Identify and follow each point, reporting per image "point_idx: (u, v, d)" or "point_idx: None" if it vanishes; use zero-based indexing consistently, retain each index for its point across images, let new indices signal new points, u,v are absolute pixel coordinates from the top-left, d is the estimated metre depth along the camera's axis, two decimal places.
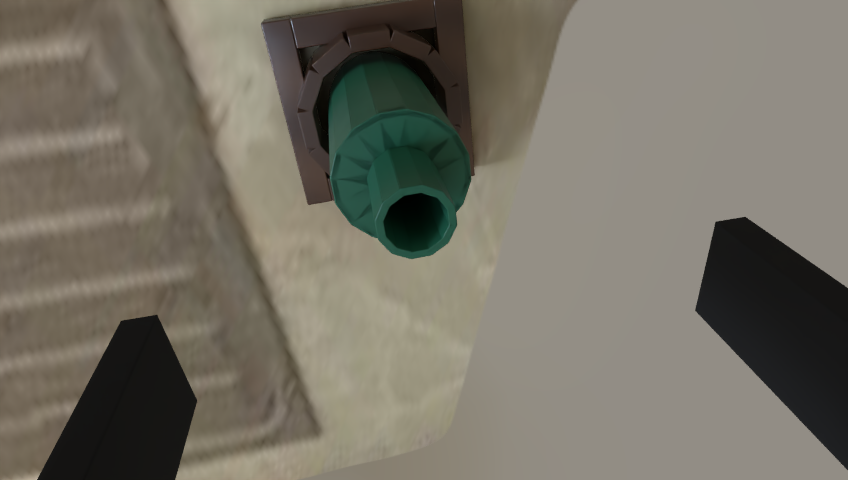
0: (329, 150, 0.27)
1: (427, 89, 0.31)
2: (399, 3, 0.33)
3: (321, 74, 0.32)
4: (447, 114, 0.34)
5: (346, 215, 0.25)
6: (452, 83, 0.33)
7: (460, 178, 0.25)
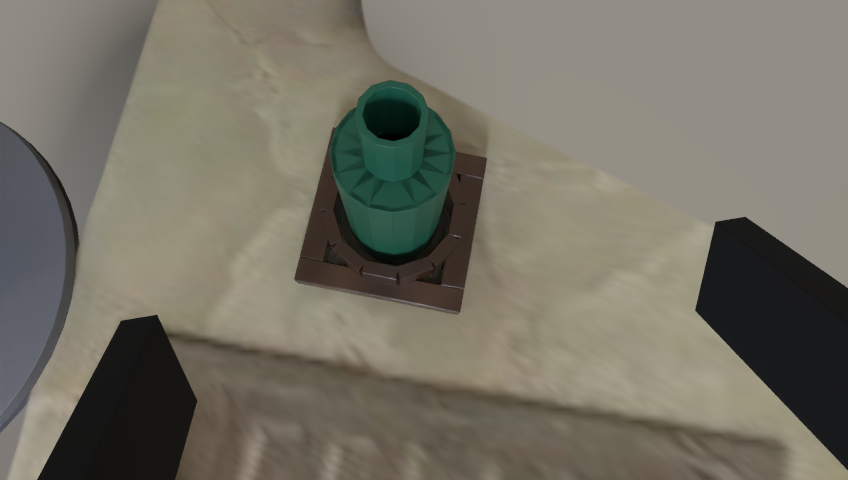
0: (369, 224, 0.31)
1: None
2: (321, 173, 0.41)
3: (339, 240, 0.37)
4: None
5: (406, 208, 0.28)
6: None
7: None
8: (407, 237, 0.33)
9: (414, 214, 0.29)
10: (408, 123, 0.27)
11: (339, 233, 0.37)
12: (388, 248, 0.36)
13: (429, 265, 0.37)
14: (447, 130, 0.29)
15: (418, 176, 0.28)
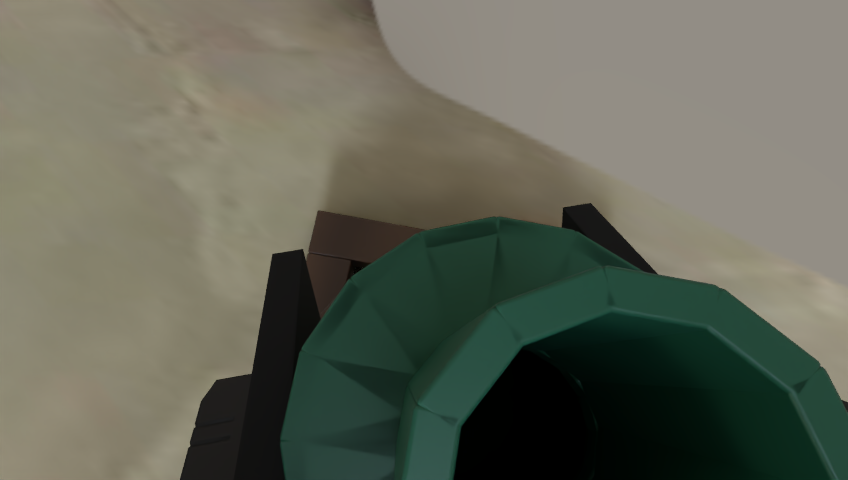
0: None
1: None
2: None
3: None
4: None
5: None
6: None
7: (562, 257, 0.09)
8: None
9: None
10: (591, 363, 0.07)
11: None
12: None
13: None
14: None
15: None
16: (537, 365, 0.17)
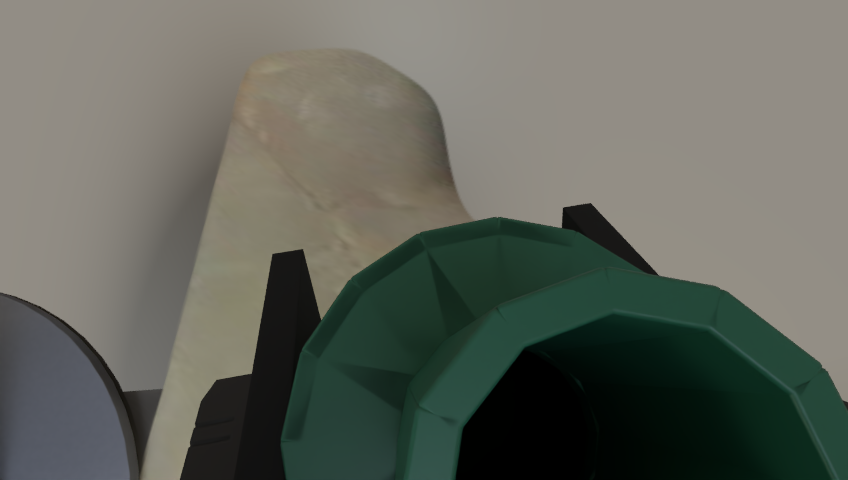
0: None
1: None
2: None
3: None
4: None
5: None
6: None
7: (563, 258, 0.09)
8: None
9: None
10: (592, 363, 0.07)
11: None
12: None
13: None
14: None
15: None
16: (537, 365, 0.17)
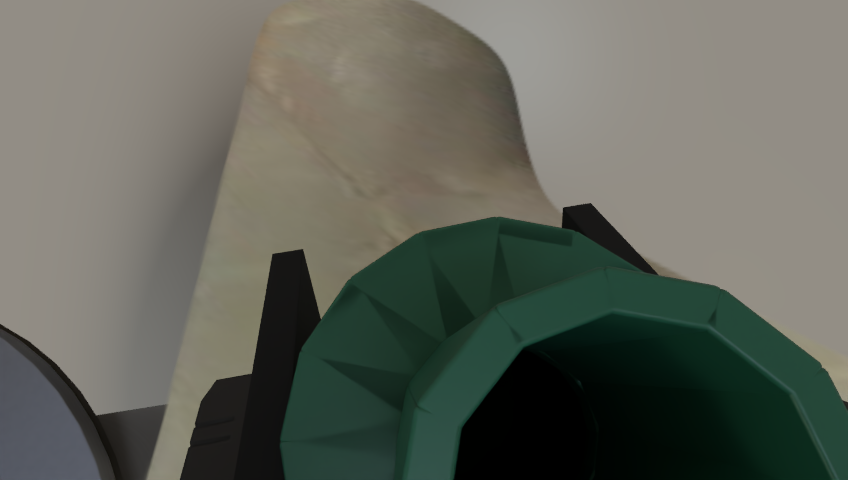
0: None
1: None
2: None
3: None
4: None
5: None
6: None
7: (563, 258, 0.09)
8: None
9: None
10: (591, 363, 0.07)
11: None
12: None
13: None
14: None
15: None
16: (537, 365, 0.17)
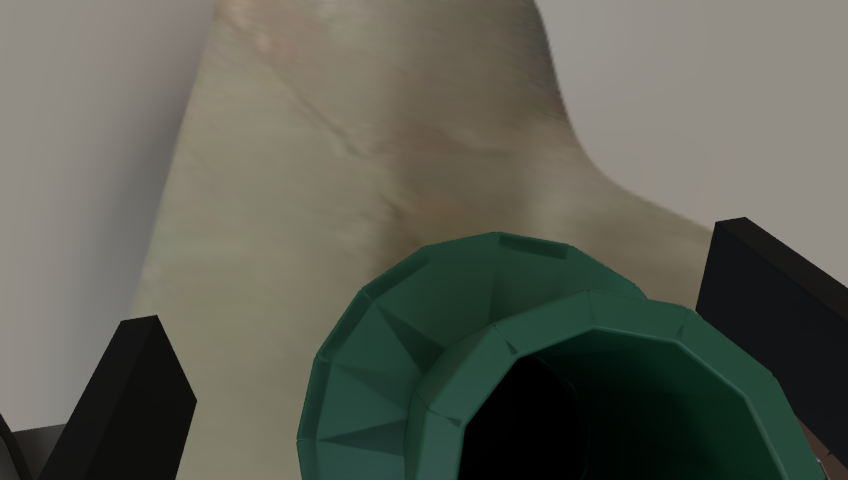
0: None
1: None
2: None
3: None
4: None
5: None
6: None
7: (558, 270, 0.09)
8: None
9: None
10: (582, 369, 0.07)
11: None
12: None
13: None
14: None
15: None
16: (536, 368, 0.18)
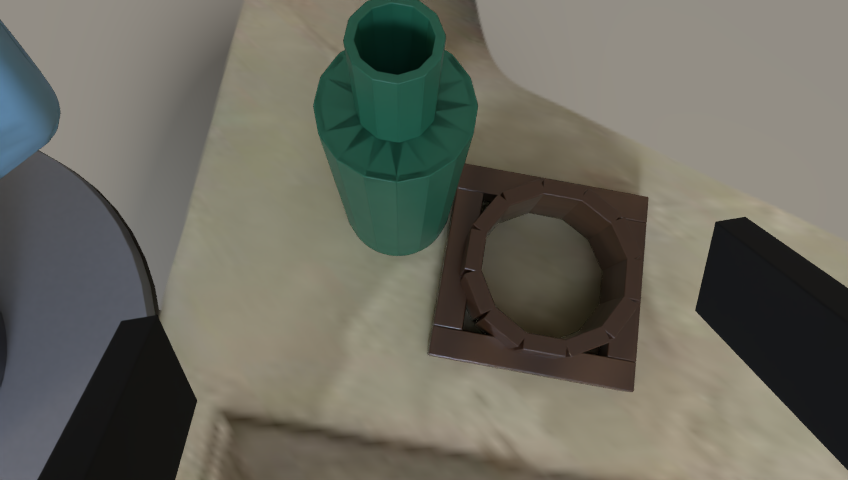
0: (367, 203, 0.24)
1: None
2: (452, 219, 0.34)
3: (492, 308, 0.30)
4: (570, 198, 0.32)
5: (415, 176, 0.21)
6: (540, 184, 0.32)
7: None
8: (415, 220, 0.27)
9: (425, 185, 0.22)
10: (416, 63, 0.20)
11: (491, 299, 0.30)
12: (392, 236, 0.29)
13: (605, 338, 0.30)
14: (466, 76, 0.22)
15: (430, 135, 0.21)
16: None
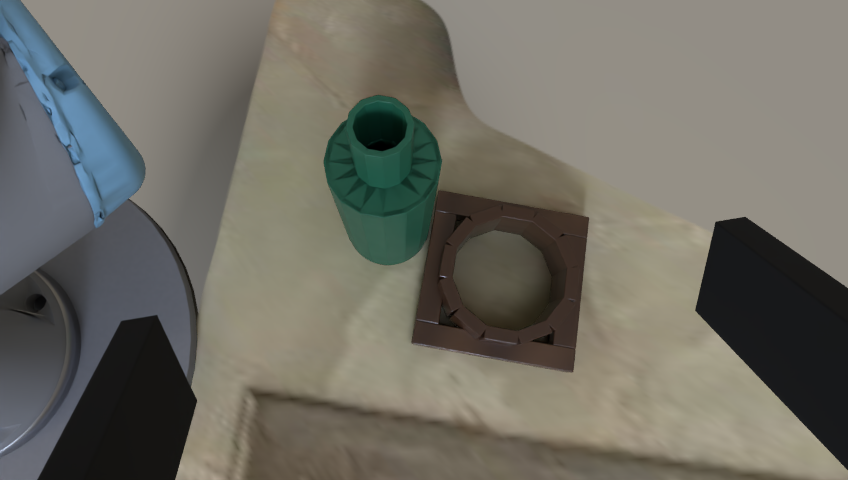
0: (362, 229, 0.33)
1: None
2: (431, 236, 0.42)
3: (460, 306, 0.38)
4: (523, 220, 0.40)
5: (396, 213, 0.29)
6: (499, 209, 0.40)
7: None
8: (399, 240, 0.35)
9: (404, 218, 0.30)
10: (396, 133, 0.29)
11: (459, 299, 0.38)
12: (382, 251, 0.38)
13: (548, 329, 0.38)
14: (434, 139, 0.31)
15: (407, 183, 0.30)
16: None
